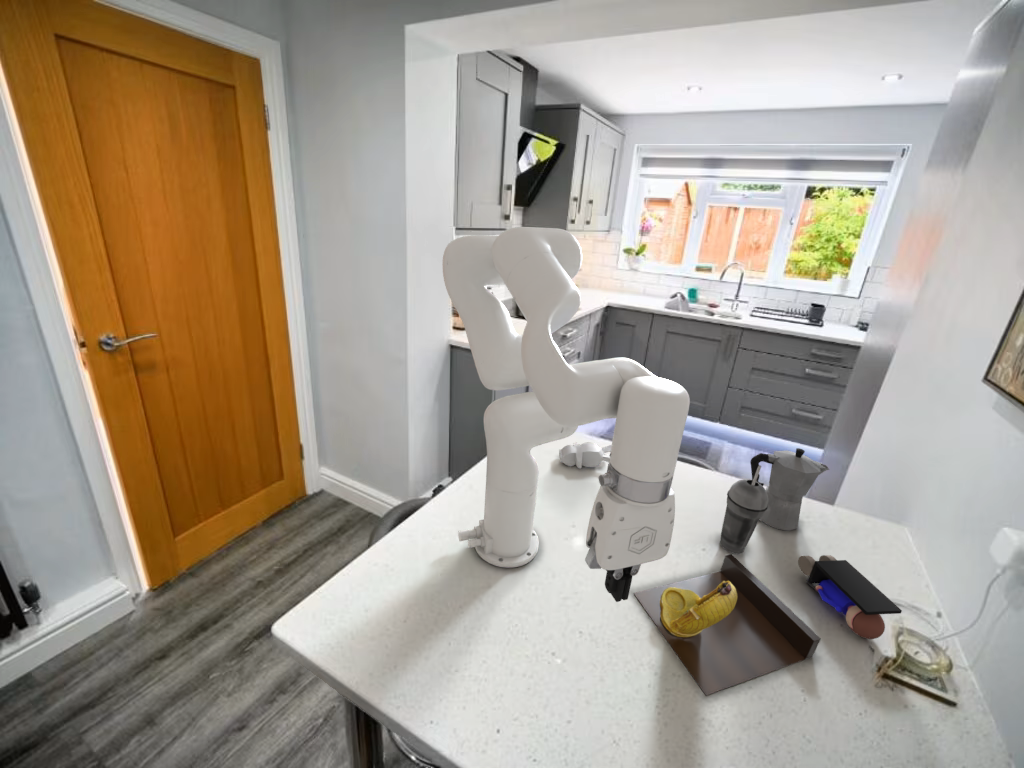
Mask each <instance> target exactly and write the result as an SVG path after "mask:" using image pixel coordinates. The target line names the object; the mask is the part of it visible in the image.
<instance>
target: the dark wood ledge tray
mask: <svg viewBox="0 0 1024 768" xmlns="http://www.w3.org/2000/svg"><path fill="white" fill-rule="evenodd" d="M723 581H725V582H727V581H730V582H731V584H732V585H733V586H734V587H735V589H736V592H737V602H736V605H735V607H734V609H733V610H732V611H731V613H730V614H729V615H728V616H726V617H725V618H723V619H722V620H721V621H719V622H718V623H716V624H714V625H712V626H710V627H708V628H706V629H703V630H702V632H700V633H699V634H698V635H696V636H695V637H693V638H688V639H682V638H677V637H674V636H671V635H670V634H668V633H667V632H666V631H665V629H664V627H663V626H662V624H661V622H660V617H661V616H660V612H661V610H660V599H661V595H662V593H663V591H664V590H665V589H667V588H671V587H672V588H674V587H675V588H679V589H684V590H691V591H693V592H694V593H695V594H697V595H698V596H699V597H700V598H702V597H703V596H704V595H708V594H709V593H711V592H712V591H714V590H715V589H716V588H717V587H718V586H719V584H721V583H722V582H723ZM633 595H634V596H635V598H636V599H637V601H638V602H639V603H640V604H641V606H642V607H643V609H644V611H645V612H646V613H647V614H648V616H649V617H650V619H651V621H652V622H653V623H654V624H655V626H656V627H657V629H658V630H659V631H660V633H661V635H662V636H663V638H664V639H665V640H666V641H667V643H668V644H669V646H670V647H671V648H672V650H673V651H674V653H675V654H676V655H677V657H678V658H679V660H680V662H681V663H682V664H683V665H684V667H685V668H686V670H687V671H688V672H689V674H690V675H691V676H692V678H693V680H694V681H695V683H696V684H697V685H698V686H699V688H700V689H701V691H702V692H703V694H704V695H705V696H710V695H711V694H714V693H717V692H721V691H722V690H725V689H728V688H731V687H734V686H737V685H739V684H742V683H744V682H747V681H751V680H753V679H756V678H758V677H761V676H764V675H767V674H769V673H773V672H774V671H778V670H780V669H783V668H786V667H788V666H791V665H795V664H796V663H800V662H803V661H805V660H808V659H810V658H813V656H814V655H815V652H816V650H817V648H818V646H819V644H820V642H821V641H822V638H821V637H820V636H819V635H818V634H817V633H816V632H814V631H813V630H812V629H811V628H810V627H809V626H808V625H807V624H806V623H805V622H804V621H803V620H802V619H801V618H800V617H799V616H798V615H796V613H795V612H794V611H792V610H791V609H790V608H789V607H788V606H787V605H786V604H785V603H784V602H783V601H782V600H781V599H779V597H778V596H776V595H775V594H774V593H773V592H772V591H771V590H770V589H769V588H768V587H767V586H766V585H765V584H764V583H763V582H762V581H761V580H760V579H759V578H758V577H756V575H754V574H753V573H752V571H750V570H749V568H747V567H746V566H745V565H744V564H743V563H742V562H741V561H739V559H737V558H736V557H735V556H734V555H733V553H730V554H726V555H724V559H723V562H722V564H721V568H720V570H719V571H716V572H711V573H708V574H704V575H699V576H695V577H691V578H688V579H683V580H680V581H675V582H672V583H668V584H667V583H666V584H664V585H663V584H662V585H660V586H656V587H652V588H648V589H643V590H640V591H636V592H633Z"/></svg>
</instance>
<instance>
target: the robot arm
mask: <svg viewBox="0 0 1024 768" xmlns="http://www.w3.org/2000/svg"><path fill="white" fill-rule="evenodd" d="M582 263H583V253H582V247H581V246H580V243H579V241H578V239H577V238H576V237H575V236H574V235H573V234H572V232H570V231H568V230H566V229H563V228H559V227H558V228H557V227H542V226H541V227H540V226H539V227H538V226H515V227H511V228H508V229H506V230H504V231H503V232H501V233H500V234H499V235H490V234H488V235H487V234H475V235H474V234H473V235H464V236H460V237H457V238H455V239H453V240H451V241H450V242H449V243H448V244H447V245H446V247H445V248H444V251H443V254H442V278H443V283H444V286H445V289H446V291H447V294H448V297H449V299H450V301H451V303H452V306H454V308H455V310H456V312H457V315H458V316H459V318H460V319H461V322H462V325H463V327H464V330H465V334H466V338H467V341H468V344H469V348H470V351H471V355H472V358H473V362H474V367H475V368H476V372H477V375H478V378H479V381H480V382H481V383H482V385H483V386H484V388H485V389H487V390H490V391H505V390H512V389H517V388H518V389H519V388H524V387H530V388H531V390H532V391H525V392H520V393H515V394H509V395H506V396H502V397H499V398H497V399H495V400H493V401H492V402H491V403H490V404H489V405H488V406H487V407H486V409H485V410H484V413H483V429H484V437H485V444H486V445H485V446H486V472H485V491H484V492H485V495H484V510H483V518H482V519H479V520H478V525H475V526H474V528H471V529H461V530H458V532H457V536H458V540H459V542H464V541H465V542H466V541H467V548H468V549H473V548H474V549H475V551H476V553H477V555H478V556H479V557H480V558H481V559H482V560H483V561H485V562H486V563H488V564H490V565H492V566H496V567H499V568H507V569H508V568H517V567H518V568H519V567H521V566H524V565H527V564H528V563H530V562H531V561H532V560H534V558H535V557H536V556H537V554H538V551H539V547H540V539H539V537H538V534H537V533H536V531H535V530H534V519H535V512H536V504H537V503H536V501H537V496H538V495H537V494H538V486H539V485H538V484H539V474H540V469H539V464H538V462H537V459H536V458H535V457H534V456H533V455H532V454H531V450H532V449H533V448H535V447H536V448H537V447H538V446H542V445H544V444H548V443H552V442H557V441H560V440H564V439H566V438H569V437H570V436H571V437H572V435H574V434H575V432H576V431H577V430H578V428H579V427H580V426H585V425H588V424H592V423H596V422H599V421H604V420H610V419H615V421H614V430H613V435H612V441H611V445H612V446H611V452H609V455H610V458H609V462H608V463H607V470H606V472H605V473H604V474H603V473H602V474H600V475H598V483H599V485H600V487H599V489H598V491H597V494H596V497H595V499H594V502H593V505H592V510H591V512H590V516H589V520H588V523H587V524H588V525H587V530H586V538H585V546H586V547H587V549H588V551H587V553H586V555H585V558H584V562H585V564H586V565H587V567H588V568H589V569H591V570H604V571H606V575H605V580H604V588H605V590H606V591H607V593H609V594H610V595H611V596H612V598H613V599H614V601H615V603H619V602H621V601H622V600H623V601H626V600H628V599H629V595H630V591H631V585H632V582H633V581H632V580H633V577H634V576H637V575H638V573H639V571H640V568H641V565H644V564H647V563H651V562H655V561H658V560H662V559H663V558H664V557H666V556H667V555H668V553H669V550H670V546H671V542H672V536H673V531H674V526H675V525H674V524H675V515H676V498H675V497H676V496H675V490H674V488H673V487H672V484H673V480H674V476H675V470H676V466H677V462H678V458H679V453H680V449H681V445H682V441H683V436H684V432H685V428H686V424H687V419H688V415H689V411H690V404H691V399H690V394H689V392H688V391H687V389H685V388H684V386H682V385H680V383H677V382H675V381H673V380H669V379H666V378H663V377H658V376H657V375H655V374H653V373H652V372H651V371H649V370H648V369H647V368H645V367H644V366H643V365H641V364H640V363H639V362H637V361H635V360H633V359H631V358H628V357H612V358H611V357H610V358H605V359H597V360H590V361H583V362H576V363H571V364H568V363H567V361H566V360H565V358H564V357H563V355H562V352H561V350H560V348H559V346H558V345H557V343H556V342H555V341H554V339H553V336H552V334H554V333H556V331H558V330H560V329H561V328H563V327H564V326H565V325H566V324H568V323H569V322H570V321H571V320H572V318H573V317H574V316H575V315H576V314H577V312H578V310H579V309H580V306H581V302H582V297H581V292H580V290H579V288H578V287H577V286H576V284H575V283H574V281H573V280H572V279H574V278H575V277H576V276H577V275H578V273H579V271H580V270H581V267H582ZM502 285H505V287H506V288H507V290H508V292H509V293H510V295H511V297H512V298H513V300H514V302H515V303H516V305H517V307H518V309H519V310H520V312H521V314H522V315H523V317H524V318H525V320H526V324H525V327H524V330H523V333H522V334H519V333H517V332H516V330H515V328H514V326H513V322H512V318H511V315H510V313H509V310H508V309H507V307H506V306H505V304H504V303H503V302H502V301H501V300H500V298H498V297H497V296H496V295H495V294H494V293H492V292H491V291H490V290H489V289H488V288H487V286H502Z"/></svg>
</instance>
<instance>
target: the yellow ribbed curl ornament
mask: <svg viewBox="0 0 1024 768" xmlns="http://www.w3.org/2000/svg"><path fill="white" fill-rule="evenodd" d="M736 602H737V592H736V589H735V587H734V586H733V585H732V584H731V582H730V581H727V582H725V581H723V582H722V583H721V584H719V586H718V587H717V588H716V589H715V590H714V591H712V592H711V593H709V594H708V595H704V596H703V597H702V598H700V597H699V596H698V595H697V594H695V593H694V592H693V591H691V590H684V589H679V588H675V587H674V588H672V587H671V588H667V589H665V590H664V591H663V593H662V595H661V599H660V610H661V612H660V616H661V617H660V622H661V624H662V626H663V627H664V629H665V631H666V632H667V633H668V634H670V635H671V636H674V637H677V638H682V639H688V638H693V637H695V636H696V635H698V634H699V633H700V632H702V630H703V629H706V628H708V627H710V626H712V625H714V624H716V623H718V622H719V621H721V620H722V619H723V618H725V617H726V616H728V615H729V614H730V613H731V611H732V610H733V609H734V607H735V605H736Z"/></svg>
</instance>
